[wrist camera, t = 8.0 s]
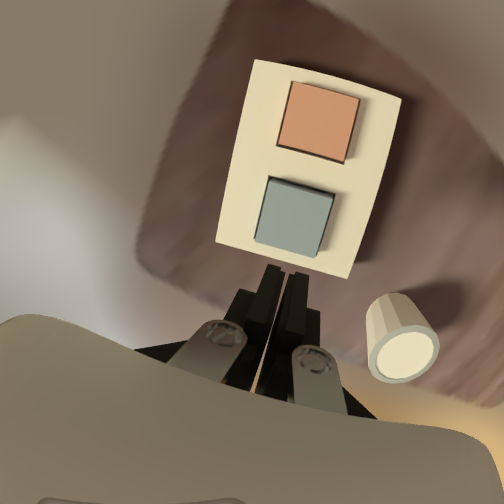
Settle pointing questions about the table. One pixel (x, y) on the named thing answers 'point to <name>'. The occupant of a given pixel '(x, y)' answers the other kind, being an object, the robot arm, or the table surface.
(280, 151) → the board
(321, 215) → the key slate
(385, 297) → the shot glass
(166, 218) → the table surface
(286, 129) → the key terracotta
